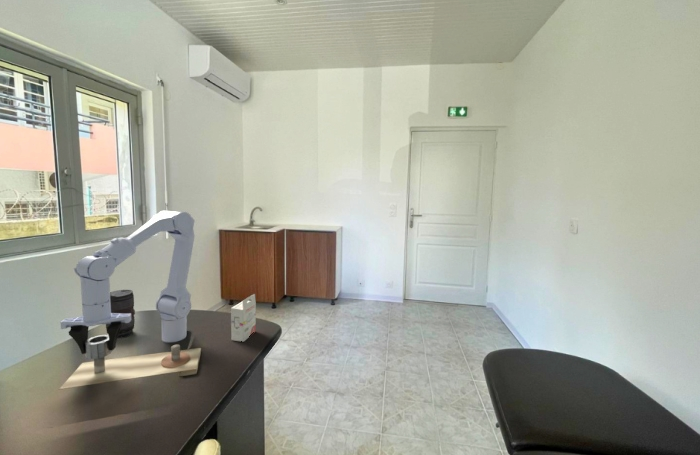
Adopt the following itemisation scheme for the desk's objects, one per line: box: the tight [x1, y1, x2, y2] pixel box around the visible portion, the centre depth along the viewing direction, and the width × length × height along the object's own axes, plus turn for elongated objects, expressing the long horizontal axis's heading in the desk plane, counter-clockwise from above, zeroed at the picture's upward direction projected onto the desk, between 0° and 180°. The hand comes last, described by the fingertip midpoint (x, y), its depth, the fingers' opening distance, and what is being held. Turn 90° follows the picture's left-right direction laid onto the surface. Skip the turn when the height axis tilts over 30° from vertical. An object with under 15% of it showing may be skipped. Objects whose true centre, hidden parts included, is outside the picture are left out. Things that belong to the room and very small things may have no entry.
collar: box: [84, 334, 113, 360], centre depth 80 cm, size 5×5×4 cm
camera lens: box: [105, 289, 136, 339], centre depth 103 cm, size 8×8×15 cm
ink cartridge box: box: [230, 293, 257, 343], centre depth 107 cm, size 9×5×15 cm, turn 168°
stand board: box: [59, 344, 202, 390], centre depth 84 cm, size 12×30×6 cm, turn 111°
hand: (99, 350), depth 80 cm, fingers closed on collar, 5 cm apart
